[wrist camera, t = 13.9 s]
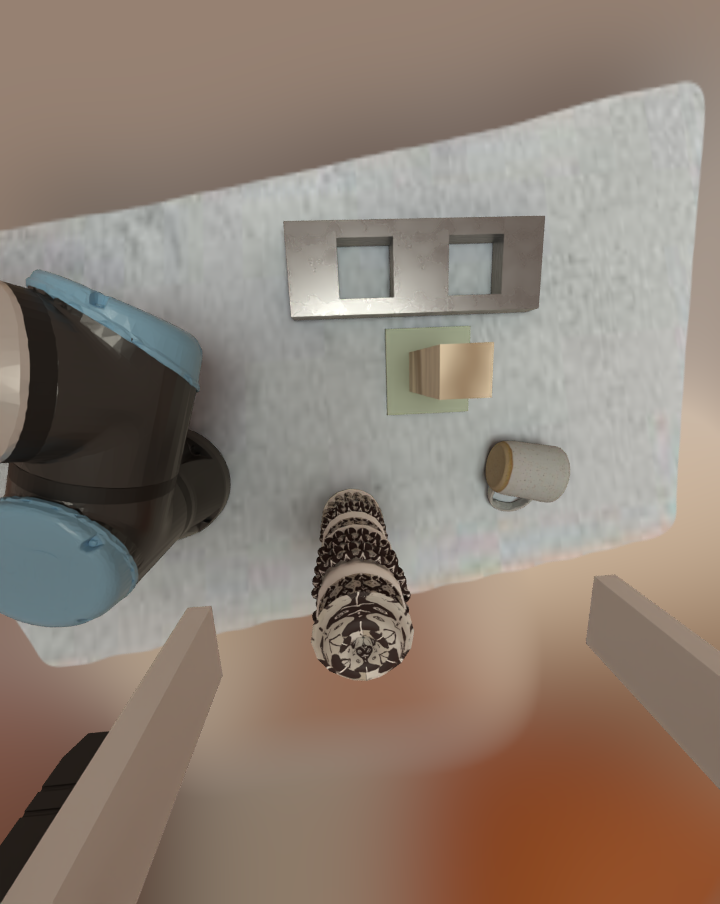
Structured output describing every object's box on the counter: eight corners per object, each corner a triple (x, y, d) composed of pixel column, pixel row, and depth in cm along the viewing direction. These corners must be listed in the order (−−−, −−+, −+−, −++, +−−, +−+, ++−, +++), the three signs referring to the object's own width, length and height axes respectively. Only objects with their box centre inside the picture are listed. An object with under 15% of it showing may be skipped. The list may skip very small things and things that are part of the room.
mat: (387, 414, 47) (387, 415, 47) (385, 329, 45) (385, 329, 44) (466, 410, 48) (467, 411, 47) (469, 326, 45) (470, 325, 45)
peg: (409, 391, 46) (439, 399, 33) (409, 352, 45) (440, 344, 31) (446, 389, 46) (491, 397, 33) (446, 350, 45) (493, 342, 32)
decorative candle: (385, 542, 52) (428, 694, 27) (323, 548, 51) (310, 708, 27) (381, 483, 49) (425, 592, 25) (316, 489, 49) (296, 605, 25)
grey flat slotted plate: (294, 320, 44) (291, 316, 41) (287, 231, 42) (283, 221, 39) (525, 312, 45) (538, 308, 42) (531, 226, 43) (545, 215, 40)
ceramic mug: (488, 434, 49) (515, 446, 41) (543, 440, 50) (579, 454, 42) (473, 504, 51) (495, 527, 44) (525, 509, 52) (556, 533, 45)
